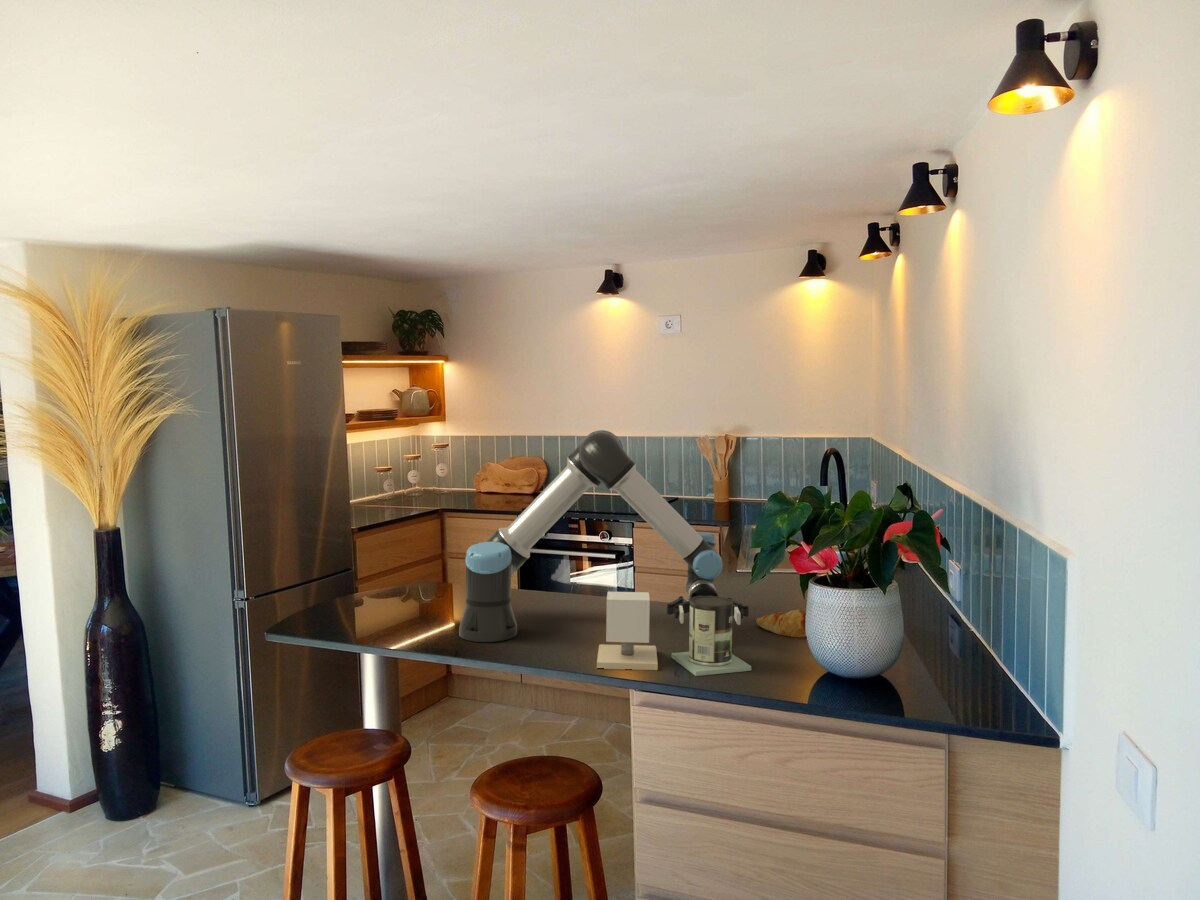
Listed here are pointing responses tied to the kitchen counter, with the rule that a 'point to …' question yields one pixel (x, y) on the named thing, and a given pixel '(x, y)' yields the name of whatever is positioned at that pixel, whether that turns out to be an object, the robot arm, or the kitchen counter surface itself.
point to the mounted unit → (627, 633)
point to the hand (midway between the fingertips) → (710, 618)
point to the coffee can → (710, 630)
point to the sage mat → (699, 670)
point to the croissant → (784, 623)
